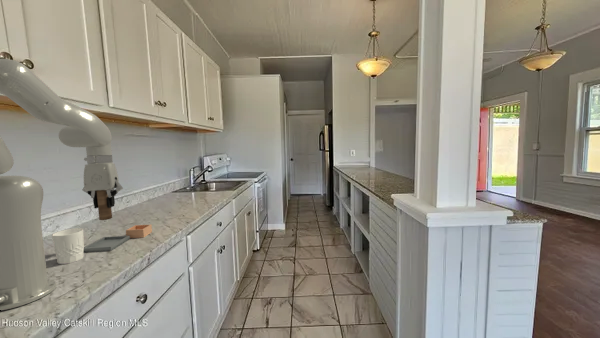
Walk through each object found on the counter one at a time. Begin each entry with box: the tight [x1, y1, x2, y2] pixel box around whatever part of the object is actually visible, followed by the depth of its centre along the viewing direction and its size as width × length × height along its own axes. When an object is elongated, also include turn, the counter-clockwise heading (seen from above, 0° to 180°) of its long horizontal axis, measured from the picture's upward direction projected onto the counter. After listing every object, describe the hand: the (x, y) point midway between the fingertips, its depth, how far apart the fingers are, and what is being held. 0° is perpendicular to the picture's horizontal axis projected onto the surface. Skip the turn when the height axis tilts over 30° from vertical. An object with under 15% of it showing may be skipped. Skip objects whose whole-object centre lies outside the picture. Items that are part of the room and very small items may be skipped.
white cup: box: [51, 228, 85, 265], centre depth 85 cm, size 8×8×10 cm
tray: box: [84, 235, 131, 253], centre depth 97 cm, size 12×10×2 cm
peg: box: [96, 190, 113, 221], centre depth 96 cm, size 4×4×12 cm
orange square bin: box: [125, 224, 153, 239], centre depth 108 cm, size 7×7×4 cm
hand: (104, 206), depth 96 cm, fingers closed on peg, 4 cm apart
